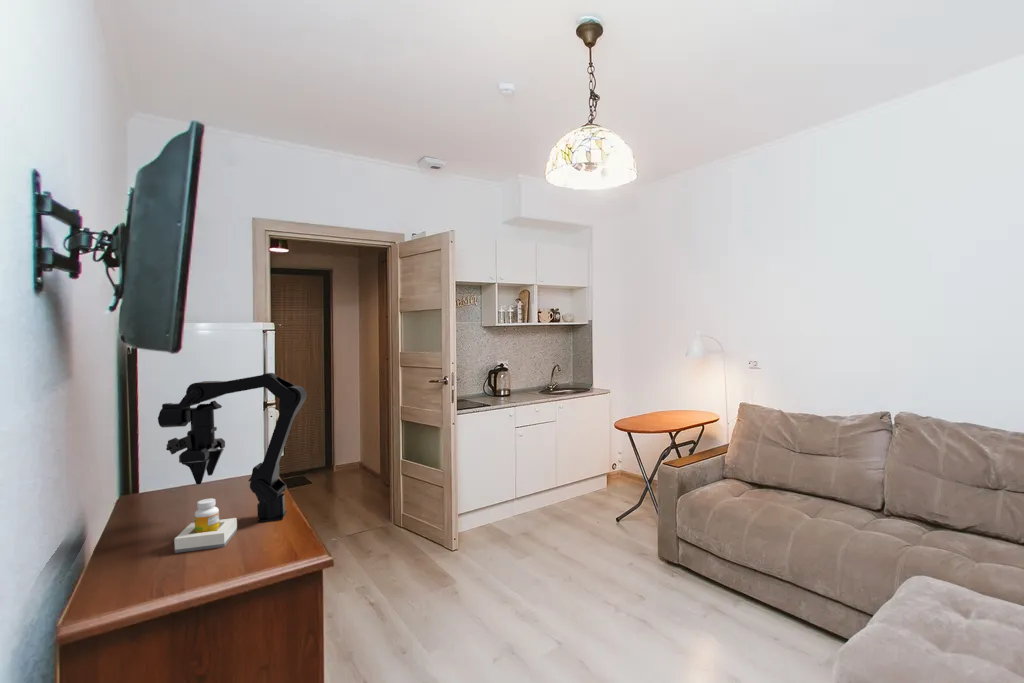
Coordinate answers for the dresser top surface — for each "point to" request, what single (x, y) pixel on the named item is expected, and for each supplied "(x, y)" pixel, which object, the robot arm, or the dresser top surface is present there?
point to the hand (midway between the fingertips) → (204, 479)
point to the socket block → (205, 537)
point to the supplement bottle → (206, 516)
